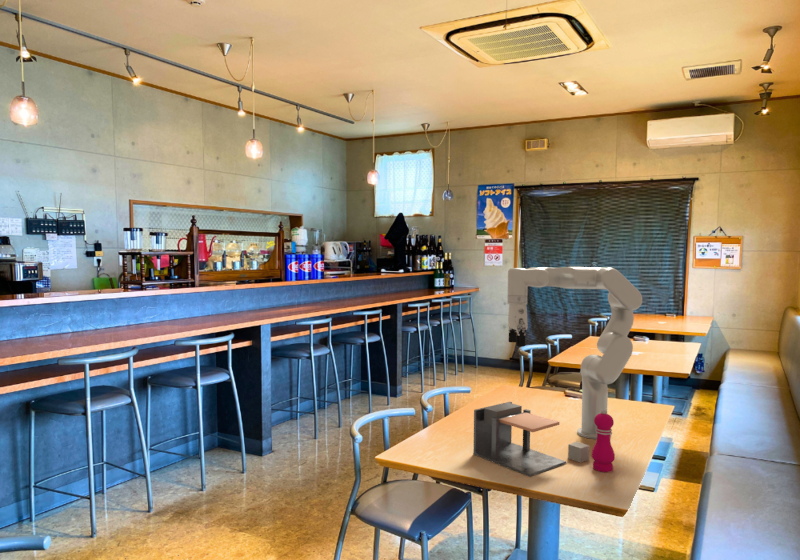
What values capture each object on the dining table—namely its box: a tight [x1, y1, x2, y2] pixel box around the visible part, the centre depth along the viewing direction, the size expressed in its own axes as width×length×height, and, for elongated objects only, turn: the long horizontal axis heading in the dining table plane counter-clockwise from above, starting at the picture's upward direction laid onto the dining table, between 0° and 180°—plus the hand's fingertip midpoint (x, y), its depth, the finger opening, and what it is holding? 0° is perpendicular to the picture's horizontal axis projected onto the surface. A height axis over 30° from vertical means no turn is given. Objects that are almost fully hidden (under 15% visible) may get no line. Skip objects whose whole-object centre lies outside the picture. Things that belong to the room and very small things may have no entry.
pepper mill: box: [591, 409, 616, 473], centre depth 185 cm, size 7×7×20 cm
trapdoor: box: [483, 402, 560, 433], centre depth 193 cm, size 14×22×5 cm, turn 38°
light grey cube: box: [567, 441, 590, 463], centre depth 195 cm, size 5×5×5 cm
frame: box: [472, 401, 567, 478], centre depth 193 cm, size 19×25×16 cm
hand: (516, 344), depth 217 cm, fingers open, 9 cm apart
